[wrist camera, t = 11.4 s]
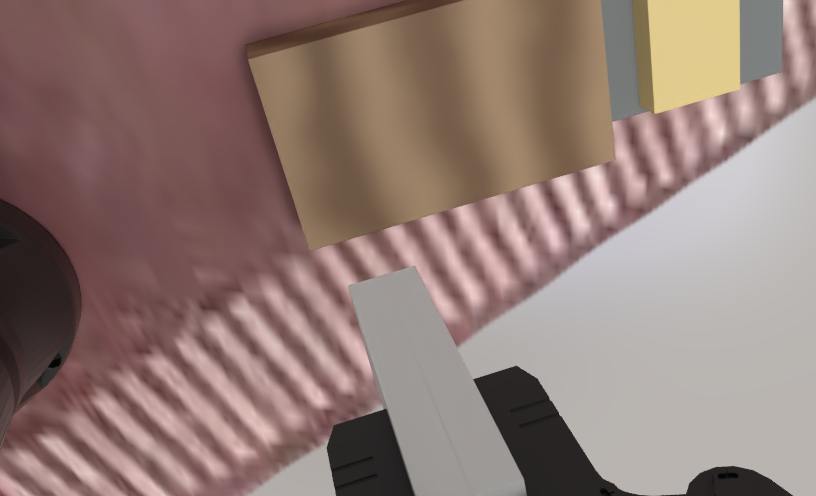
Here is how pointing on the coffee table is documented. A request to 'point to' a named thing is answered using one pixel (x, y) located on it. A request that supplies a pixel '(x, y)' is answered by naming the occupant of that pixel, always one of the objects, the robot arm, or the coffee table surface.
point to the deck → (432, 107)
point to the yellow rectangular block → (686, 51)
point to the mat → (756, 58)
